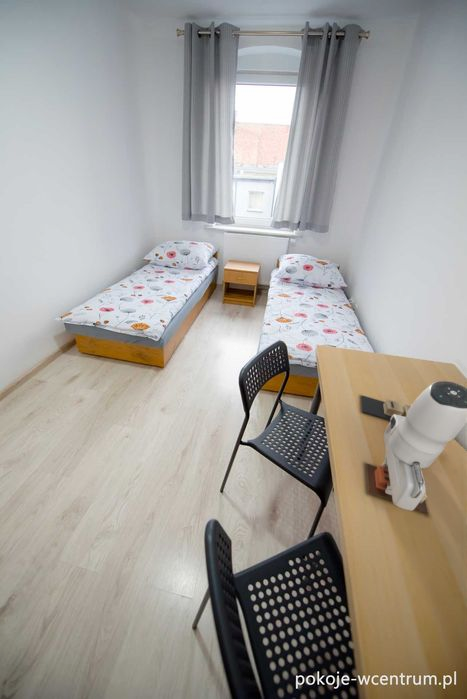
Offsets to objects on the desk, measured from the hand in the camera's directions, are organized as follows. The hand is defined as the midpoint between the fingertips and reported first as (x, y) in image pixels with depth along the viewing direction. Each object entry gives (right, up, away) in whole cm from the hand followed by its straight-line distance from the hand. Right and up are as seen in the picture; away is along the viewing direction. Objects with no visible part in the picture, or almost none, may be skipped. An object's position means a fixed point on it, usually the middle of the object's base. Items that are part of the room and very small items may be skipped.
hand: (386, 480), depth 68 cm
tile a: (+5, -2, -1) cm, 6 cm away
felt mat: (+13, +12, +22) cm, 28 cm away
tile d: (+14, +12, +22) cm, 28 cm away
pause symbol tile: (0, -1, +1) cm, 1 cm away
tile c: (+19, +11, +21) cm, 30 cm away
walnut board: (+2, -2, 0) cm, 3 cm away
